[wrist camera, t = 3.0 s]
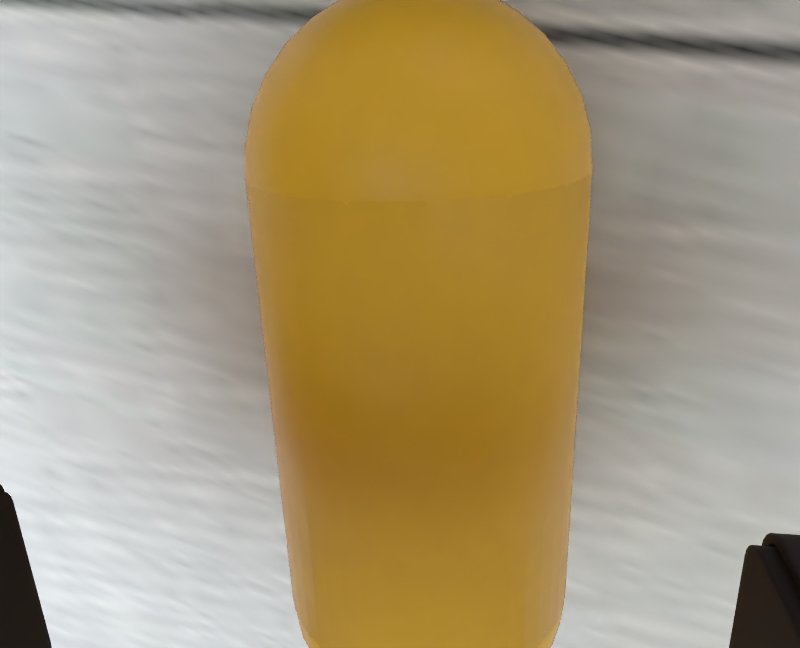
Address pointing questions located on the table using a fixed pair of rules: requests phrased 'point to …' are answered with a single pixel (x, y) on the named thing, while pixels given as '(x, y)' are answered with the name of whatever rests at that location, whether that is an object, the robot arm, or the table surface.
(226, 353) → the table surface
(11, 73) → the table surface
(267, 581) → the table surface
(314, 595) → the squash
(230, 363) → the table surface
